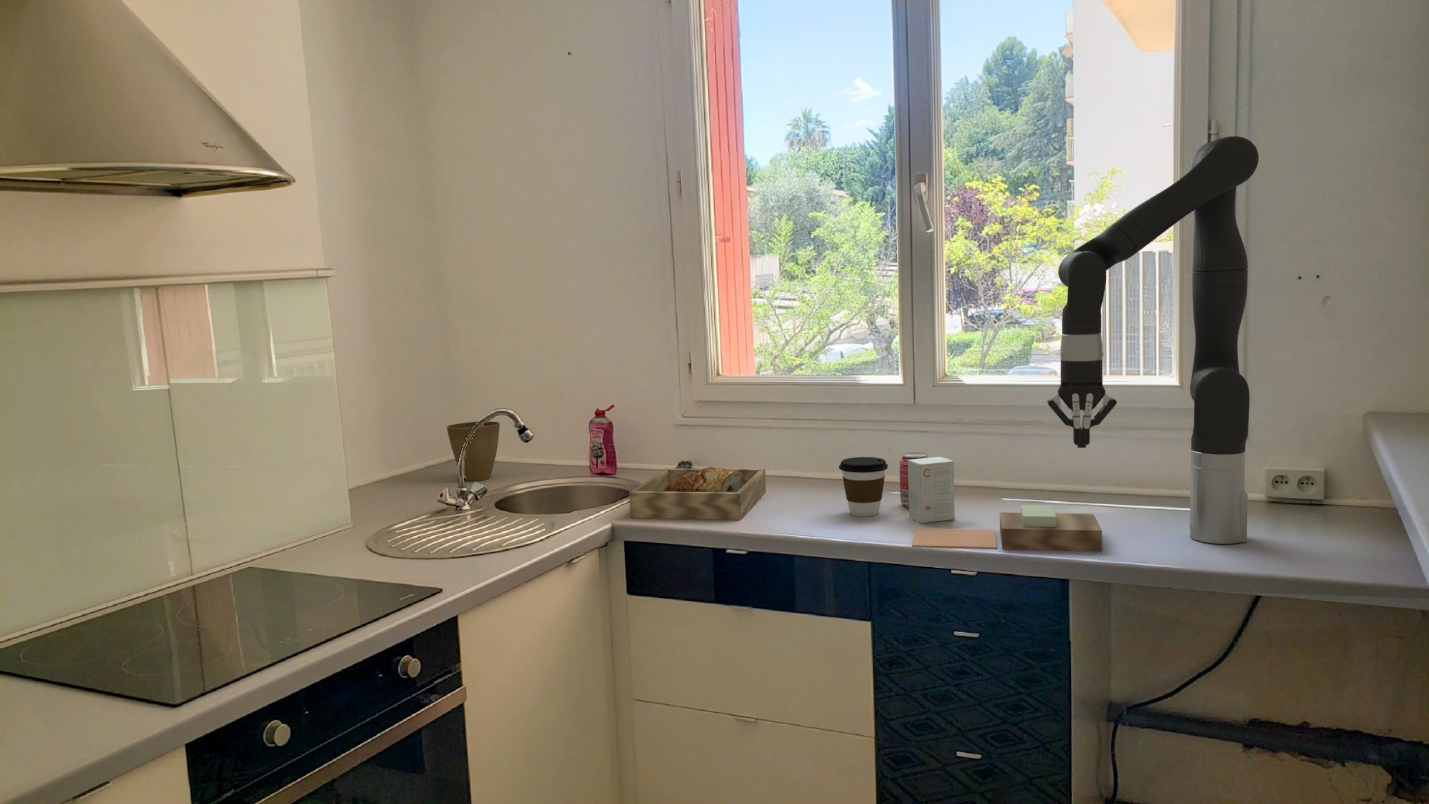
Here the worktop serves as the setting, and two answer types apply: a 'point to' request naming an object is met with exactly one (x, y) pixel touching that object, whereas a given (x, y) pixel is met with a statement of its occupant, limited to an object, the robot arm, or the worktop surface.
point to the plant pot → (475, 448)
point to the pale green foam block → (1038, 516)
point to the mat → (954, 538)
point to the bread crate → (695, 498)
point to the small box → (931, 489)
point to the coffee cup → (863, 484)
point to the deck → (1052, 533)
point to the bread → (707, 481)
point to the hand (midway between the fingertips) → (1081, 447)
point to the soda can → (904, 474)
